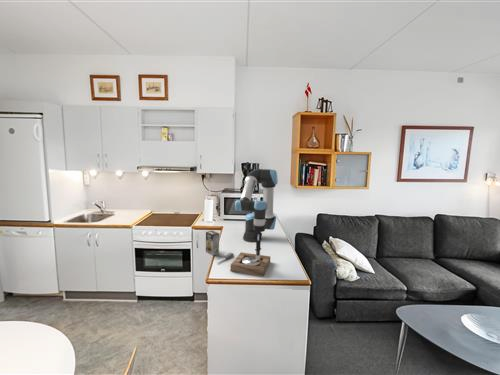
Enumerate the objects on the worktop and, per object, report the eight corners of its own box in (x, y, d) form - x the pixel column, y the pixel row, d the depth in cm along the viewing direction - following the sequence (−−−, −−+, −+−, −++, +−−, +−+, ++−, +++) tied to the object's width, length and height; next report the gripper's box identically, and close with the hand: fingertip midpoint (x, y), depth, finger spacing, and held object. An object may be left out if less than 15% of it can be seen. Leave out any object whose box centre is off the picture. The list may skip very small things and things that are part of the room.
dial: (240, 266, 169) (240, 254, 168) (244, 258, 181) (244, 247, 180) (258, 268, 167) (259, 256, 165) (261, 260, 179) (262, 249, 178)
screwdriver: (230, 255, 191) (230, 252, 191) (233, 256, 190) (233, 253, 189) (215, 263, 177) (215, 260, 177) (218, 264, 176) (218, 261, 175)
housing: (240, 257, 188) (240, 251, 187) (270, 262, 182) (270, 256, 181) (230, 271, 167) (230, 264, 166) (263, 276, 161) (264, 269, 160)
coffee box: (205, 252, 196) (205, 231, 193) (212, 250, 200) (212, 230, 198) (212, 255, 189) (212, 234, 187) (219, 253, 194) (219, 233, 191)
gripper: (264, 227, 160) (262, 263, 163) (265, 222, 172) (263, 256, 175) (252, 227, 160) (251, 263, 163) (254, 221, 173) (253, 255, 176)
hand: (257, 259), depth 169 cm, fingers closed
